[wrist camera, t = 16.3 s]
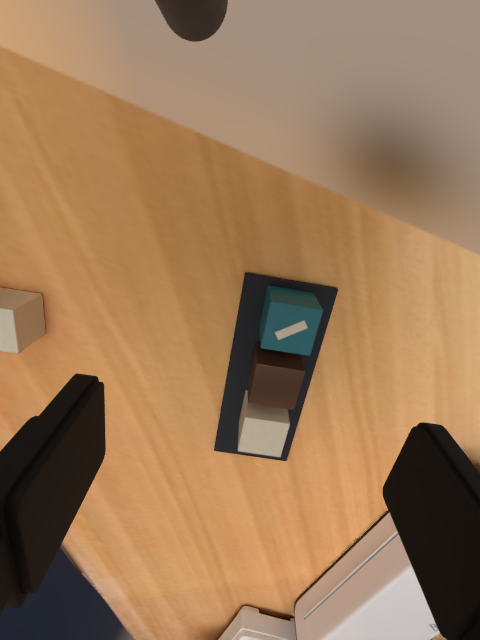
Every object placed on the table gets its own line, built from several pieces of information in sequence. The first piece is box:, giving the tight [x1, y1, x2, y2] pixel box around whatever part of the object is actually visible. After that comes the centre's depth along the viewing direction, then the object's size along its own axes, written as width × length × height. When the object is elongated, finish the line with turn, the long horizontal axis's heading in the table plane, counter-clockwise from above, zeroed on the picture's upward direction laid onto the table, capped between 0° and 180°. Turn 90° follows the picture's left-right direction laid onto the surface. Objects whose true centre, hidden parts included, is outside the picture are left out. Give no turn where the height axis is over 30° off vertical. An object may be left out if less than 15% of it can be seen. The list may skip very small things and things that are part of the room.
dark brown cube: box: [248, 341, 305, 410], centre depth 29 cm, size 4×4×4 cm
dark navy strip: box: [214, 273, 338, 461], centre depth 32 cm, size 20×8×1 cm, turn 171°
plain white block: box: [0, 287, 46, 354], centre depth 28 cm, size 4×4×4 cm
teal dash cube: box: [259, 286, 323, 356], centre depth 26 cm, size 4×4×4 cm
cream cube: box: [238, 390, 290, 457], centre depth 31 cm, size 4×4×4 cm
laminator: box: [294, 465, 480, 640], centre depth 39 cm, size 34×12×6 cm, turn 153°
